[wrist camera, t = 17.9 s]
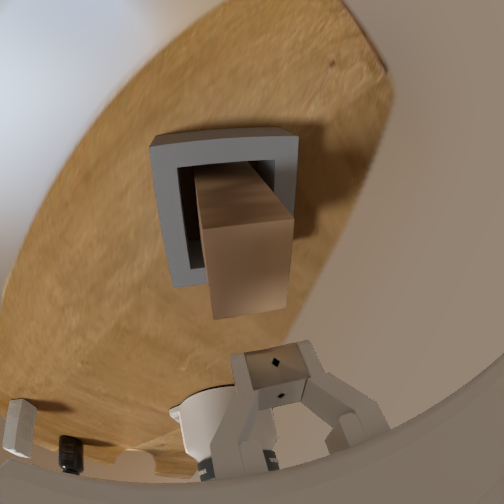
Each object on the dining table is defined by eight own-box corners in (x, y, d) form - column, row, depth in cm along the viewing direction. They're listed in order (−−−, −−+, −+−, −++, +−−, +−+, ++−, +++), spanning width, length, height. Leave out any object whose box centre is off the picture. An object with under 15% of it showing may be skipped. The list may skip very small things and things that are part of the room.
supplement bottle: (56, 437, 43) (55, 476, 33) (62, 433, 42) (61, 475, 32) (79, 445, 47) (79, 483, 37) (87, 441, 45) (87, 482, 36)
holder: (273, 244, 25) (288, 271, 22) (173, 257, 23) (173, 288, 20) (278, 126, 19) (298, 136, 16) (155, 135, 17) (148, 147, 14)
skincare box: (24, 408, 34) (18, 456, 24) (9, 398, 31) (1, 447, 21) (38, 407, 34) (33, 459, 24) (22, 396, 31) (14, 450, 21)
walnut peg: (246, 160, 20) (294, 219, 12) (246, 223, 23) (285, 307, 15) (193, 164, 19) (202, 229, 11) (199, 229, 22) (214, 320, 14)
